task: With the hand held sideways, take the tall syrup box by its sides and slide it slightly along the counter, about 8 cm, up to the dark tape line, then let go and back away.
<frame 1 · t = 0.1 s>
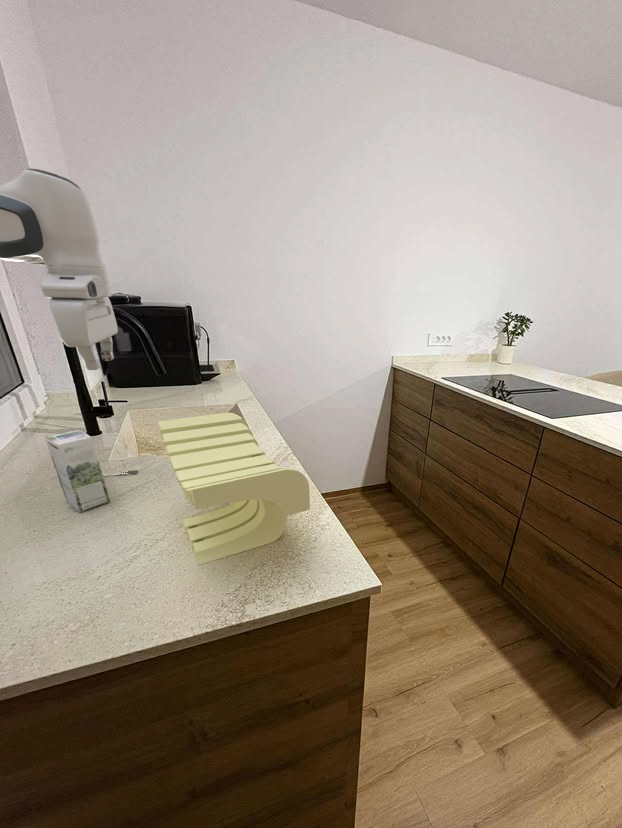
hand: (101, 364, 75), 26 cm above the worktop, tool pointing down, fingers open, 8 cm apart
syrup box: (89, 504, 78), on the worktop
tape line: (108, 474, 89), on the worktop
slatted curved stool: (236, 531, 71), on the worktop
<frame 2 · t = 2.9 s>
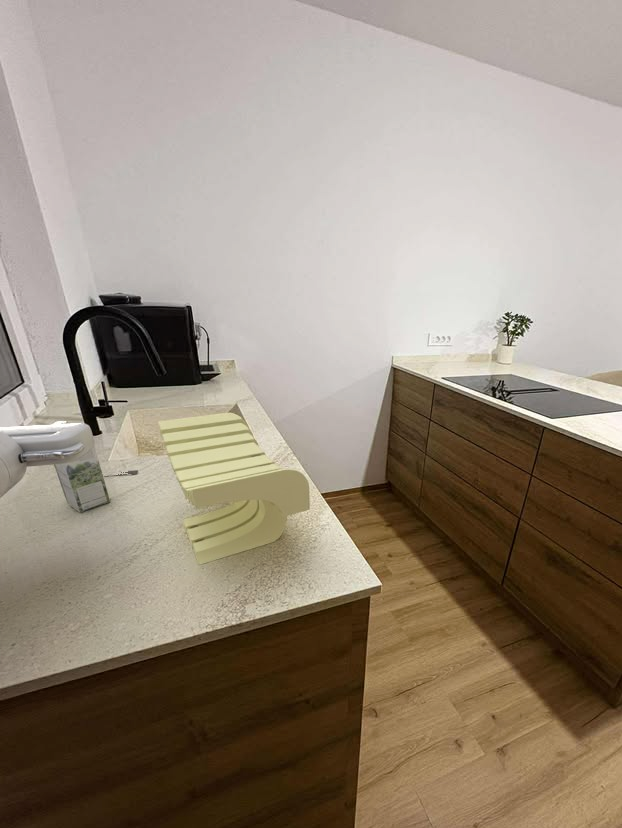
hand: (27, 428, 58), 20 cm above the worktop, tool horizontal, fingers open, 8 cm apart
nothing on the worktop moved.
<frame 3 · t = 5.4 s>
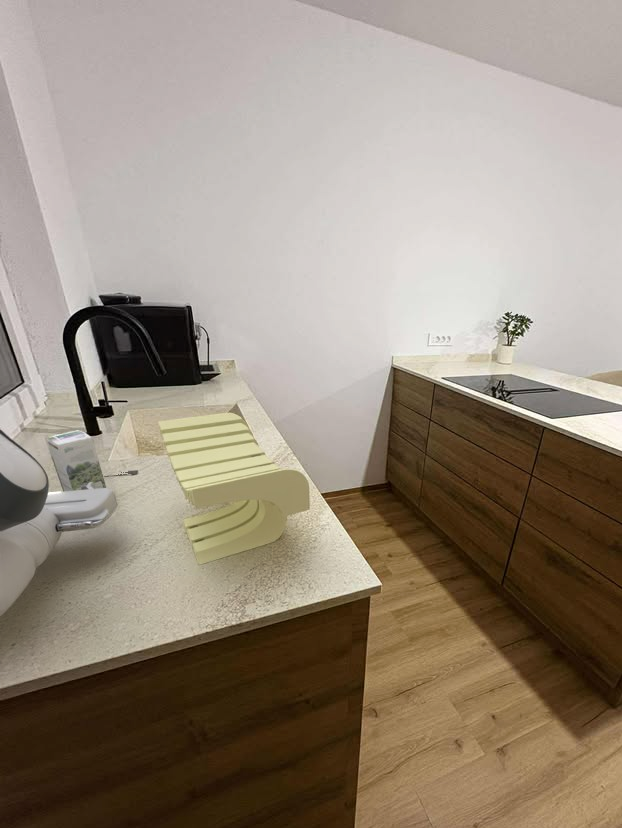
hand: (58, 488, 67), 8 cm above the worktop, tool horizontal, fingers open, 8 cm apart
nothing on the worktop moved.
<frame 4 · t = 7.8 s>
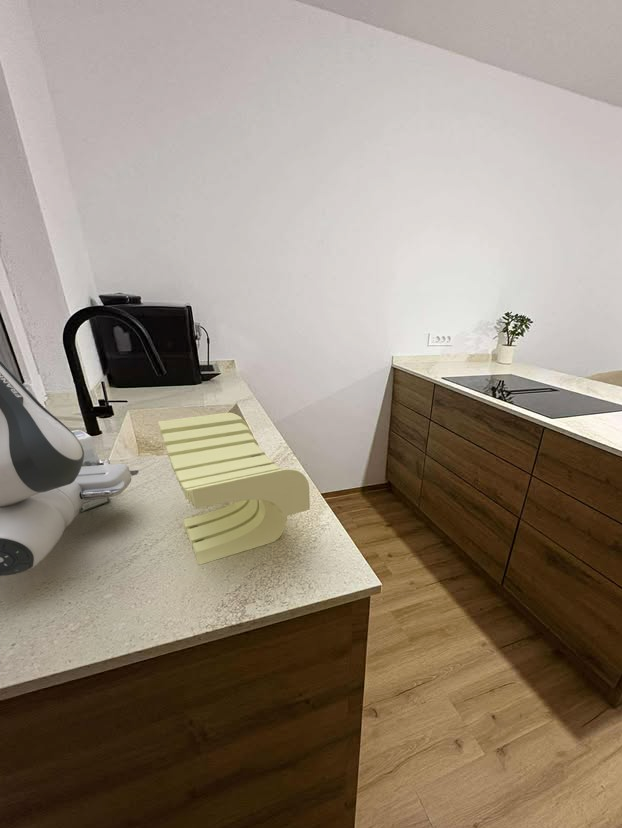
hand: (79, 465, 75), 8 cm above the worktop, tool horizontal, fingers closed on syrup box, 8 cm apart
syrup box: (90, 504, 78), on the worktop, touching gripper
everything else where it was.
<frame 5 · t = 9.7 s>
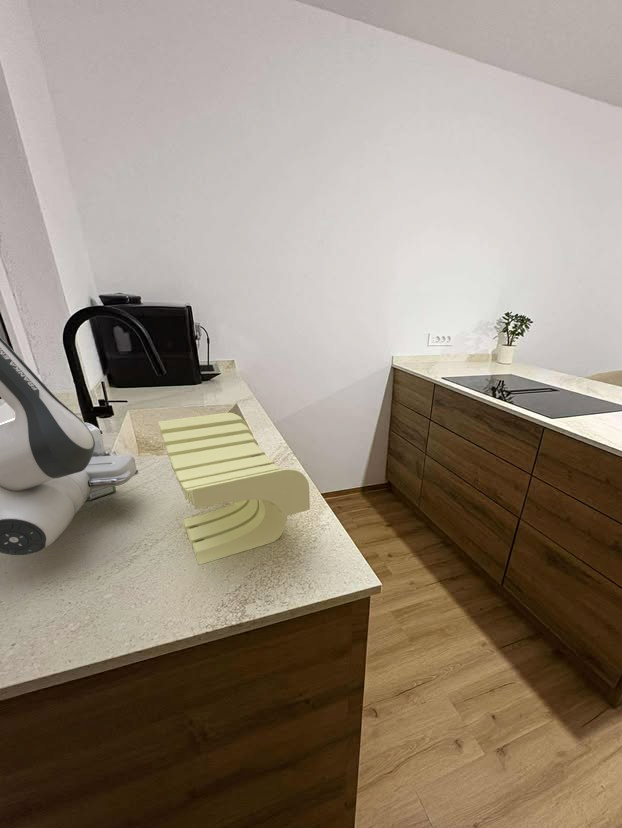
hand: (86, 456, 79), 8 cm above the worktop, tool horizontal, fingers closed on syrup box, 8 cm apart
syrup box: (96, 493, 82), on the worktop, touching gripper
everything else where it was.
when the fingers open (8 cm above the worktop, at t = 11.5 s): syrup box stays where it is, on the worktop.
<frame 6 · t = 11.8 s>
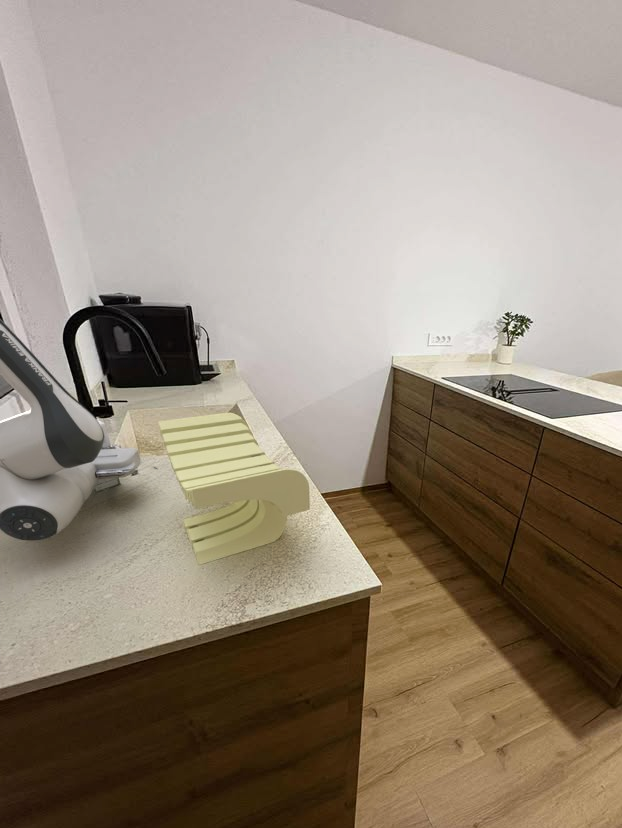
hand: (92, 449, 82), 8 cm above the worktop, tool horizontal, fingers open, 8 cm apart
syrup box: (102, 486, 85), on the worktop, touching gripper
everything else where it was.
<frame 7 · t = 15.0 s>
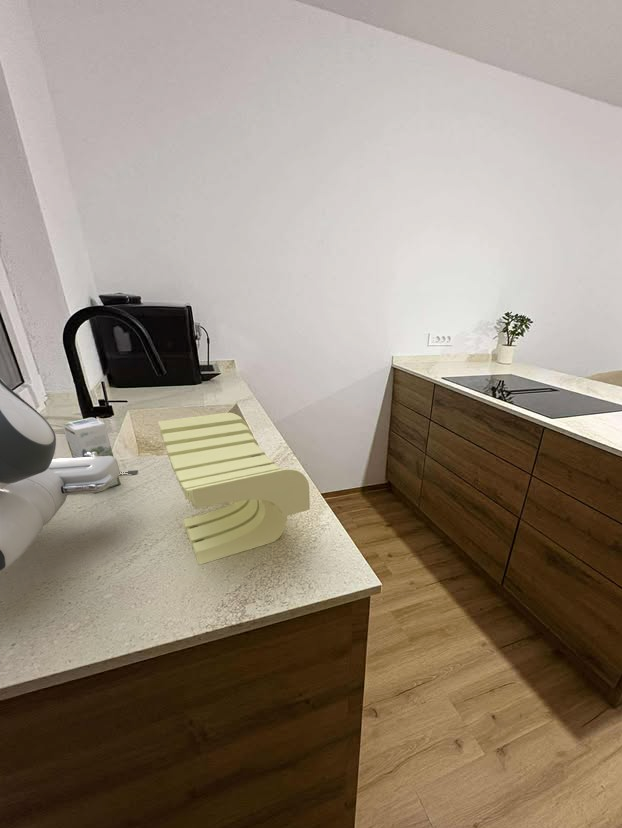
hand: (63, 457, 69), 12 cm above the worktop, tool horizontal, fingers open, 8 cm apart
syrup box: (102, 486, 85), on the worktop
everything else where it was.
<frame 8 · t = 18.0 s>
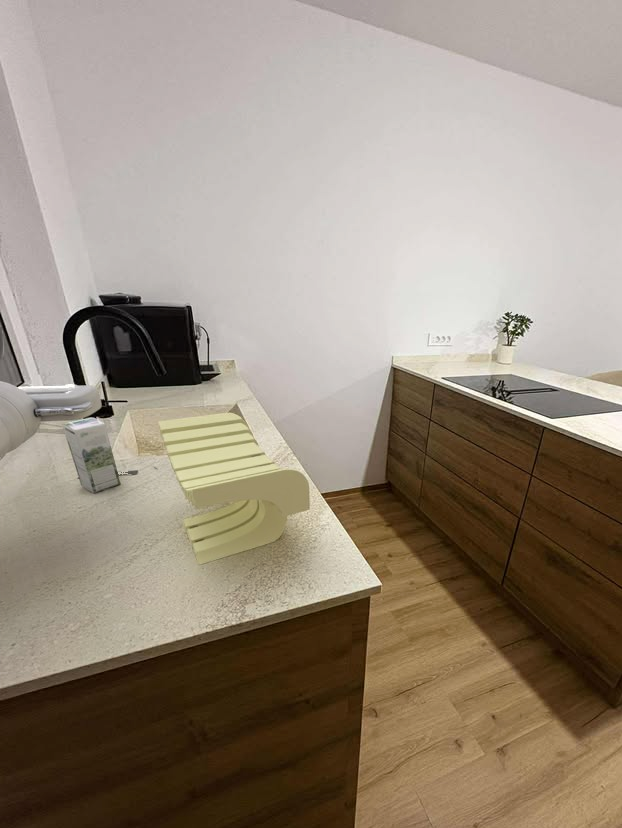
hand: (40, 390, 63), 24 cm above the worktop, tool horizontal, fingers open, 8 cm apart
nothing on the worktop moved.
at the end: syrup box 0.1 cm from the target spot, on the worktop; syrup box tilted 0°; the gripper is holding nothing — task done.
